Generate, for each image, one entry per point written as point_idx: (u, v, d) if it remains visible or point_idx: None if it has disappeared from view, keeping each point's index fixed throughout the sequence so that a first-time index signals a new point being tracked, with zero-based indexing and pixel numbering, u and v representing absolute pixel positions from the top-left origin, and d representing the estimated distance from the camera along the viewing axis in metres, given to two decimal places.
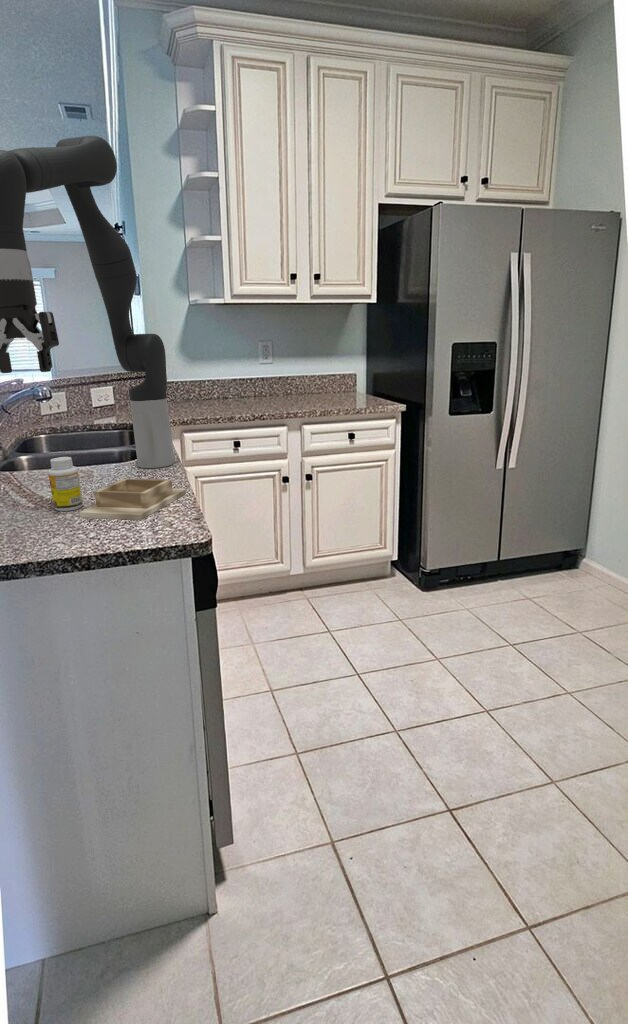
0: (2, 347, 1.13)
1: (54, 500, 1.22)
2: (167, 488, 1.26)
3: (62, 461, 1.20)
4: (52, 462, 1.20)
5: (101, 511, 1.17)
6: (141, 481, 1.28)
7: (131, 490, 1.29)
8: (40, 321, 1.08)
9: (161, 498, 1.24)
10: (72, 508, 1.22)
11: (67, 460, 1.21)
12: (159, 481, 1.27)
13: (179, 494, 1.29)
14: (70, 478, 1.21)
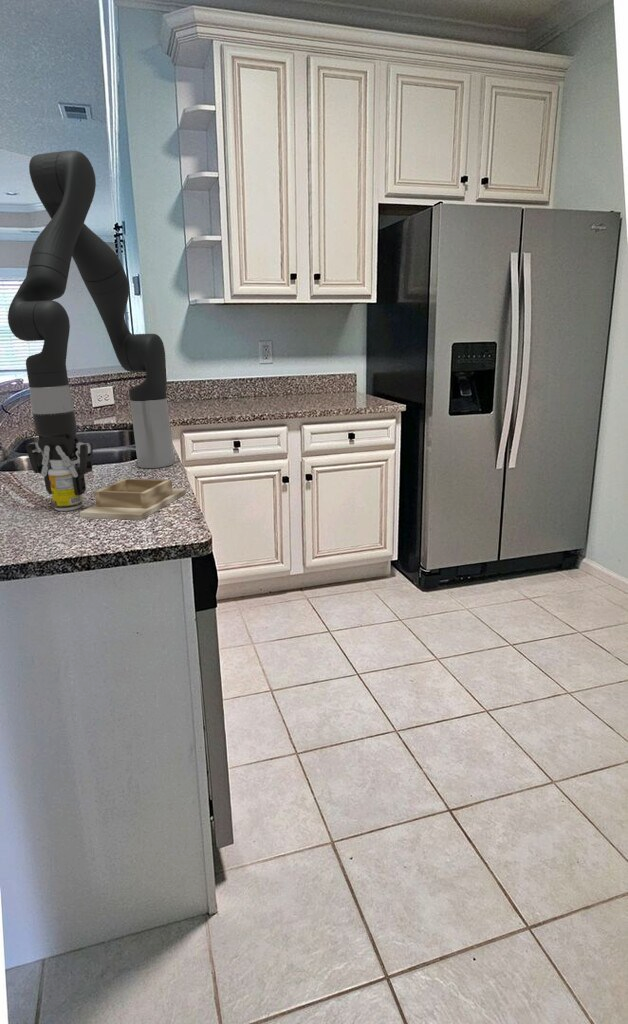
0: None
1: (54, 500, 1.22)
2: (167, 488, 1.26)
3: (62, 461, 1.20)
4: (52, 462, 1.20)
5: (101, 511, 1.17)
6: (141, 481, 1.28)
7: (131, 490, 1.29)
8: (80, 452, 1.19)
9: (161, 498, 1.24)
10: (72, 508, 1.22)
11: None
12: (159, 481, 1.27)
13: (179, 494, 1.29)
14: (70, 478, 1.21)
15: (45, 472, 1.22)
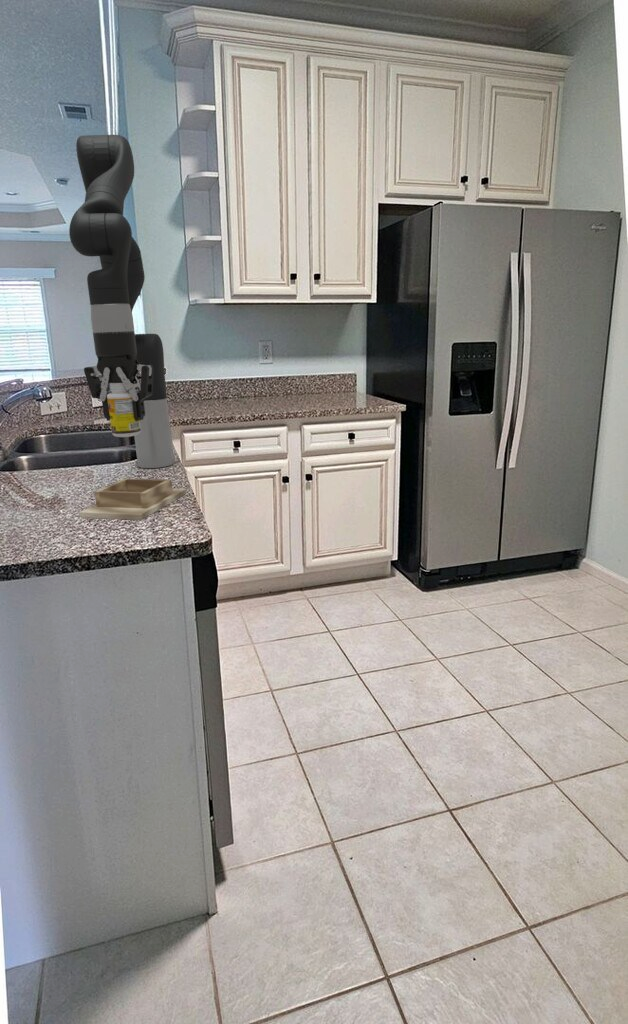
0: None
1: (113, 425, 1.18)
2: (167, 488, 1.26)
3: (122, 384, 1.16)
4: (112, 385, 1.16)
5: (101, 511, 1.17)
6: (141, 481, 1.28)
7: (131, 490, 1.29)
8: (141, 373, 1.15)
9: (161, 498, 1.24)
10: (131, 434, 1.19)
11: None
12: (159, 481, 1.27)
13: (179, 494, 1.29)
14: (130, 402, 1.17)
15: (104, 396, 1.18)
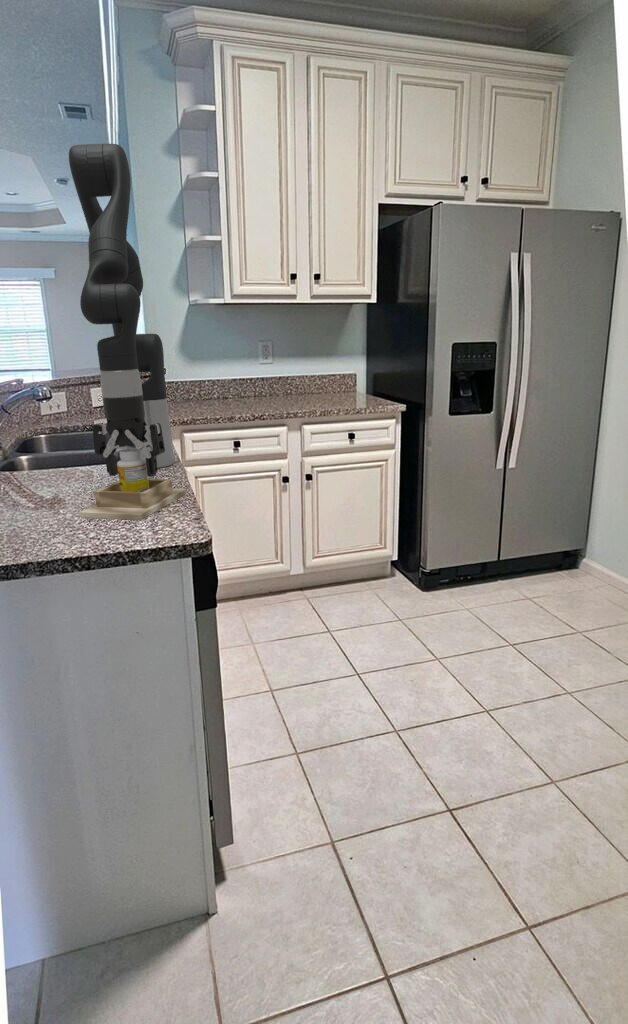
0: (111, 452, 1.23)
1: None
2: (167, 488, 1.26)
3: (131, 452, 1.20)
4: (121, 453, 1.20)
5: (101, 511, 1.17)
6: None
7: None
8: (150, 433, 1.18)
9: (161, 498, 1.24)
10: None
11: (136, 451, 1.21)
12: (159, 481, 1.27)
13: (179, 494, 1.29)
14: (139, 469, 1.21)
15: (107, 453, 1.22)
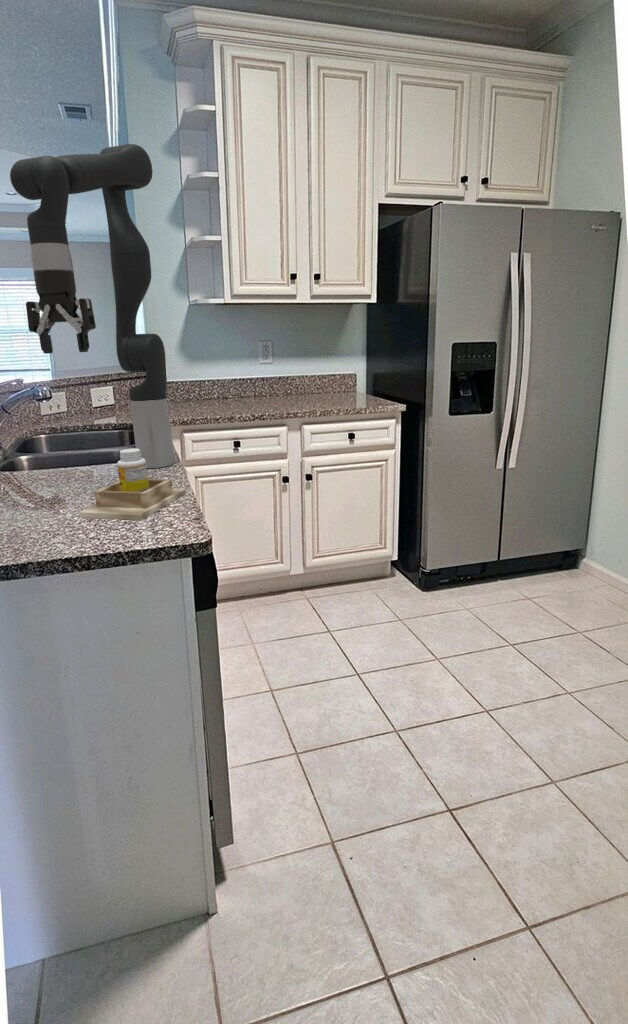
0: (45, 330, 1.28)
1: None
2: (167, 488, 1.26)
3: (132, 452, 1.20)
4: (122, 453, 1.20)
5: (101, 511, 1.17)
6: None
7: None
8: (80, 306, 1.23)
9: (161, 498, 1.24)
10: None
11: (136, 451, 1.21)
12: (159, 481, 1.27)
13: (179, 494, 1.29)
14: (139, 469, 1.21)
15: (40, 330, 1.27)
